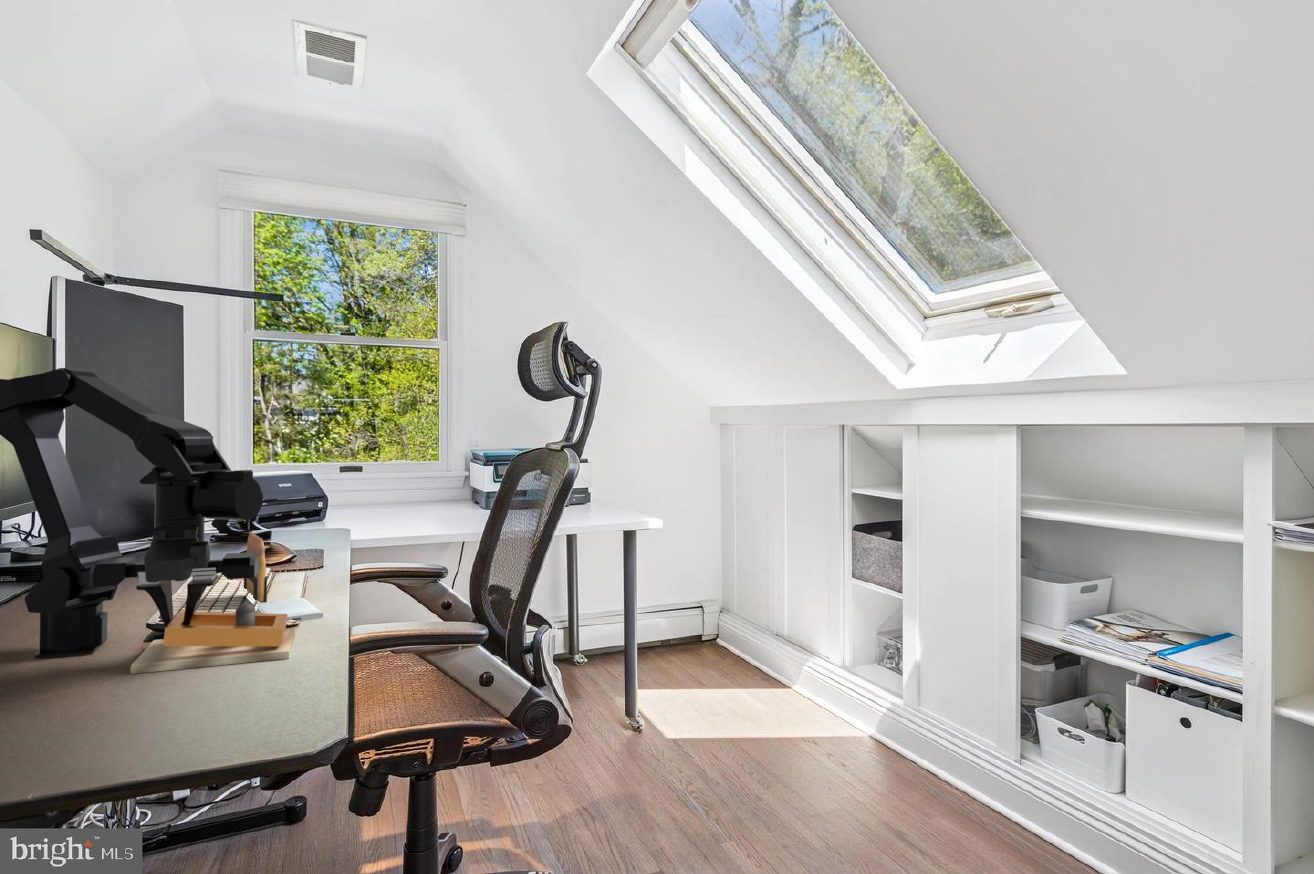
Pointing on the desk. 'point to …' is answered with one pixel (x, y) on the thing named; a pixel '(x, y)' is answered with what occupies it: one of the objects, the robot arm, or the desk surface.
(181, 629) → the shallow wooden tray
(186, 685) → the desk surface
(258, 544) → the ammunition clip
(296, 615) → the hard drive
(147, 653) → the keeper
